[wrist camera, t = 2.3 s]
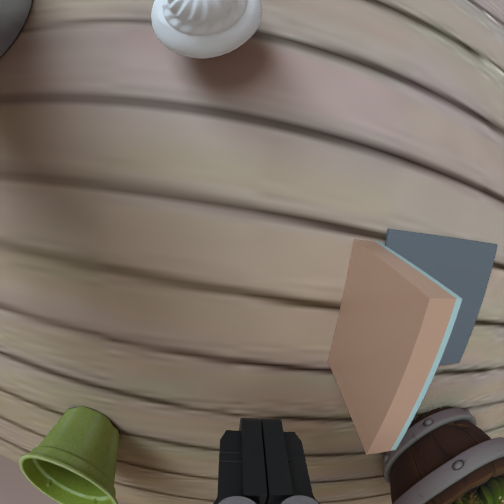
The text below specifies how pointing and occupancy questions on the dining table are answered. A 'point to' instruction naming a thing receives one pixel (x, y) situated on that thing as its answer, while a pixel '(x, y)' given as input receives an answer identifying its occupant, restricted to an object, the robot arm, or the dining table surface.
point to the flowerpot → (446, 462)
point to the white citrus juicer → (205, 25)
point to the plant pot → (76, 459)
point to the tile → (388, 341)
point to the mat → (450, 276)
